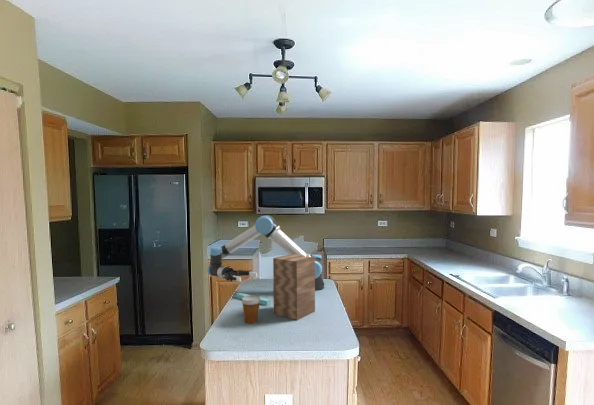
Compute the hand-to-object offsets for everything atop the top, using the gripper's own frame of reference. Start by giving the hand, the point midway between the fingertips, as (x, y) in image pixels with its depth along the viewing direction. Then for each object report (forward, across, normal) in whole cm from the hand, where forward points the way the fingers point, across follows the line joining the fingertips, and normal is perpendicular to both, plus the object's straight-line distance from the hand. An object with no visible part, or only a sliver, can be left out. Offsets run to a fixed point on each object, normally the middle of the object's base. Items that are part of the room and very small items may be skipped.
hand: (248, 277), depth 196 cm
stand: (+35, 0, -14) cm, 38 cm away
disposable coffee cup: (+26, +23, -14) cm, 37 cm away
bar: (+2, -1, -15) cm, 15 cm away
